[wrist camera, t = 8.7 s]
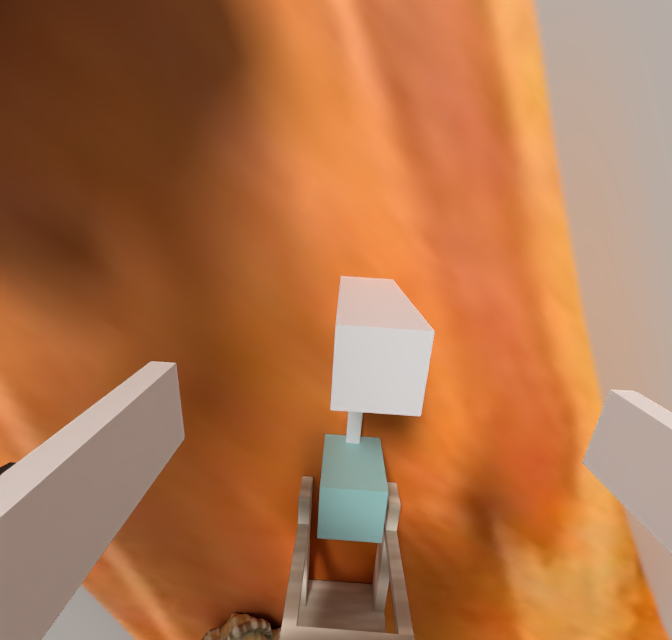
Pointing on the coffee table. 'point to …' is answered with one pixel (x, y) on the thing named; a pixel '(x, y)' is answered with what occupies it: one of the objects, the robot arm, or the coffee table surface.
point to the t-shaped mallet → (369, 400)
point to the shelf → (346, 587)
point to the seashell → (243, 629)
